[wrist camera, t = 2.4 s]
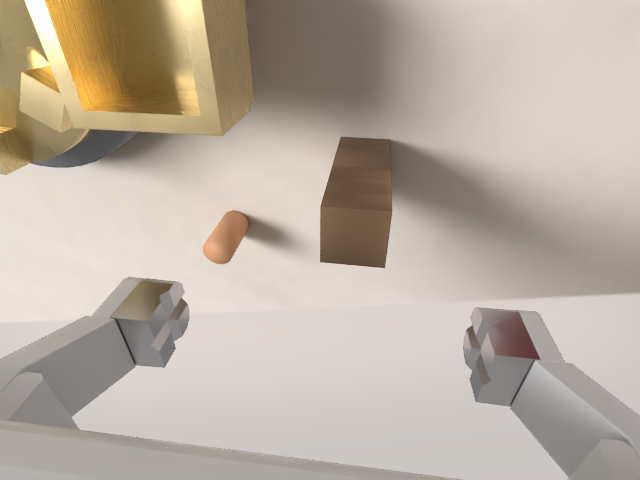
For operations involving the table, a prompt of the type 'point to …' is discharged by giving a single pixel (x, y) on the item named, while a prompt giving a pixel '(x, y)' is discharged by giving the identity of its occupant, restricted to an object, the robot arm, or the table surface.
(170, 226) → the table surface
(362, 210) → the brown wooden peg
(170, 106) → the rotary feeder
